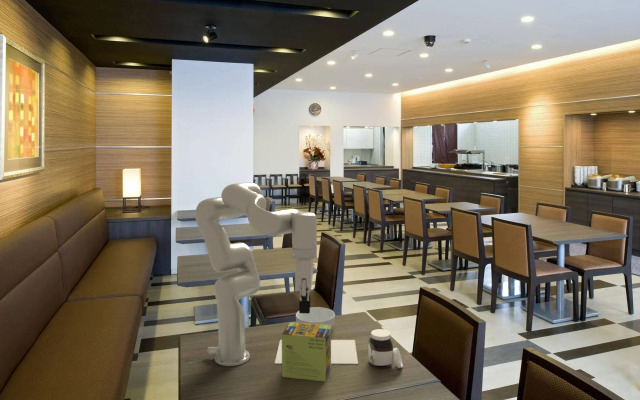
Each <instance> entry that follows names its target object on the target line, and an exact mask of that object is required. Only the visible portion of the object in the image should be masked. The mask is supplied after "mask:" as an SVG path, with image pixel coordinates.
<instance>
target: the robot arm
mask: <svg viewBox="0 0 640 400" xmlns="http://www.w3.org/2000/svg"><path fill="white" fill-rule="evenodd" d="M220 195H221V196H217V197H210V198H206V199H203V200H201V201H200V202H198V204H197V206H196V207H195V208H196V209H195V215H194V216H195V221H196V224H197V227H198V230H199V231H200V233H201V235H202V237H203V240H204V243H205V247H206V250H207V251H206V252H207V255H208V258H209V261H210V265H211V267H212V269H213V271H215V272H217V273H223V272H224V273H225V272H229V271H233V270H237V272H234V273H233V272H232V273H228V274H226V275H223V276H221V277H219V278H218V279H217V280H216V281H215V283H214V286H213V291H214V296H215V300H216V307H217V322H218V323H217V325H218V326H217V328H218V329H217V330H218V346H217V345H216V346H207V353H208V354H209V355H211V356H213V355H215V357H214V361H215V363H216V364H218V365H220V366H223V367H236V366H240V365H243V364H245V363H247V362H248V361H249V360H250V357H251V353H250V352H249V350H246V324H245V323H246V321H245V319H246V318H245V317H246V315H245V309H244V307H243V306H242V305H241V303H240V300H241V299H243V298H245V297H246V298H247V297H248V296H253V295H255V294H257V292H258V291H259V290H260V289H261V279H260V275H259V273H258V268H257V265H256V262H255V258H254V256H253V255H254V254H253V252H252V250H251V248H250V247H249V245H247V244H246V243H244V242H241V241H239V242H234V243H231V241H230V239H229V235H228V233H227V231H226V229H225V228H224V227H223V225H221V224H220V223H219V222H218V221H225V220H231V219H236V218H239V217H242V216H243V215H244V216H246V217H247V220H248V222H249V224H250V226H251V227H252V229H254V230H255V231H258V232H260V233H261V234H263V235H266V236H268V237H279V236H282V235H288V234H292V235H291V240H292V241H291V242H292V243H291V246H292V247H291V249H292V250H291V251H292V254H291V255H292V259H294V260H295V267H294V275H295V278H294V279H295V280H294V282H295V283H294V285H295V286H294V291H295V292H299V301H298V302H299V303H298V304H299V306H298V309H299V310H298V311H299V313H310V308H311V294H310V293H311V291H312V285H313V277H314V273H313V272H314V260H315V259H317V258H318V246H317V244H318V243H317V242H318V238H317V237H318V236H317V235H318V232H317V231H318V227H317V226H318V225H317V223H318V219H317V215H316V214H315V213H313V212H312V211H311V212H310V211H301V210H299V209H296V208H289V209H281V210H275V211H269V210H266V209H267V199H266V197H265V196H264V195H263V194H262V189H261V187H259V185H258V184H256V183H254V182H241V183H240V182H239V183H238V182H237V183H231V184H228V185H226V187H224V188H223V190H222V191H221V194H220Z"/></svg>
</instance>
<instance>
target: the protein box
mask: <svg viewBox="0 0 640 400" xmlns="http://www.w3.org/2000/svg"><path fill="white" fill-rule="evenodd" d="M281 340H282V364H281V377H282V378H287V379H288V378H289V379H300V380H305V381H306V380H310V381H315V382H316V381H317V382H326V381H327V378H328V376H329V374H330V370H331V368H332V364H331V340H332V327H331V325H319V324H307V323H297V322H291V321H290V322H289V323H288V324H287V326H286V328H285V329H284V330H283V332H282V333H281Z"/></svg>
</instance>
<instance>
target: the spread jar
mask: <svg viewBox="0 0 640 400" xmlns="http://www.w3.org/2000/svg"><path fill="white" fill-rule="evenodd" d="M370 332H371V333H370V337H369V339H368V345H367V346H368V347H367V348H368V349H367V353H368V354H367V356H368V361H369V364H370V365H371V366H372V367H373V368H376V369H387V368H389V367H390V366H392V365H393V363H394V362H395V364H396V366H397V369H401V368H403V366H404V365H403V360H402V355H401V352H400V349H399V348H398V347H394V346H393V341H392V339H391V332H390V331H389V330H387V329H381V328H376V329H373V330H372V331H370Z"/></svg>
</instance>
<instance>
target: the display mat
mask: <svg viewBox="0 0 640 400" xmlns="http://www.w3.org/2000/svg"><path fill="white" fill-rule="evenodd" d="M274 364H275V365H282V339H280V340H279V343H278V348H277V352H276V356H275V360H274ZM331 365H359V360H358V353H357V347H356V340H355V339H331Z"/></svg>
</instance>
